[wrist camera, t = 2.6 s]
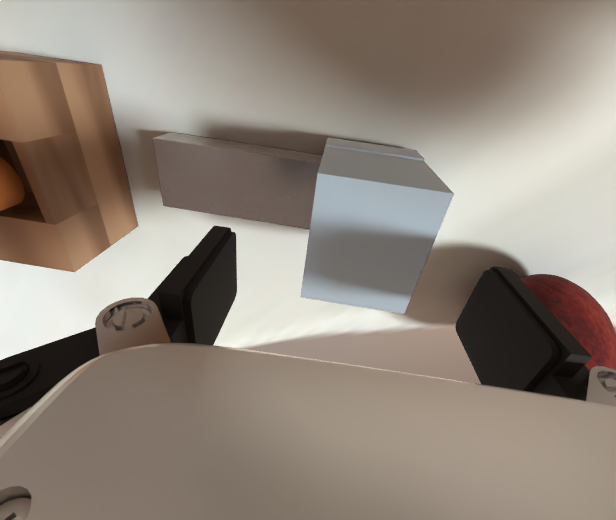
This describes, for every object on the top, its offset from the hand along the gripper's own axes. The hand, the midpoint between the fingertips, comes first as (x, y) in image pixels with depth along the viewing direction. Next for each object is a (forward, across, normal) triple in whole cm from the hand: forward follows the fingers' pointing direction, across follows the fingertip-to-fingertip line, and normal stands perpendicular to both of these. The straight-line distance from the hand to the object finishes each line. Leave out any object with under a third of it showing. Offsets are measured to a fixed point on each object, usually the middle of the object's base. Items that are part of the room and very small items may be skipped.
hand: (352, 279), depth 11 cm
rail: (+9, +3, 0) cm, 10 cm away
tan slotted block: (+9, +17, 0) cm, 20 cm away
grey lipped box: (+9, -1, 0) cm, 9 cm away
